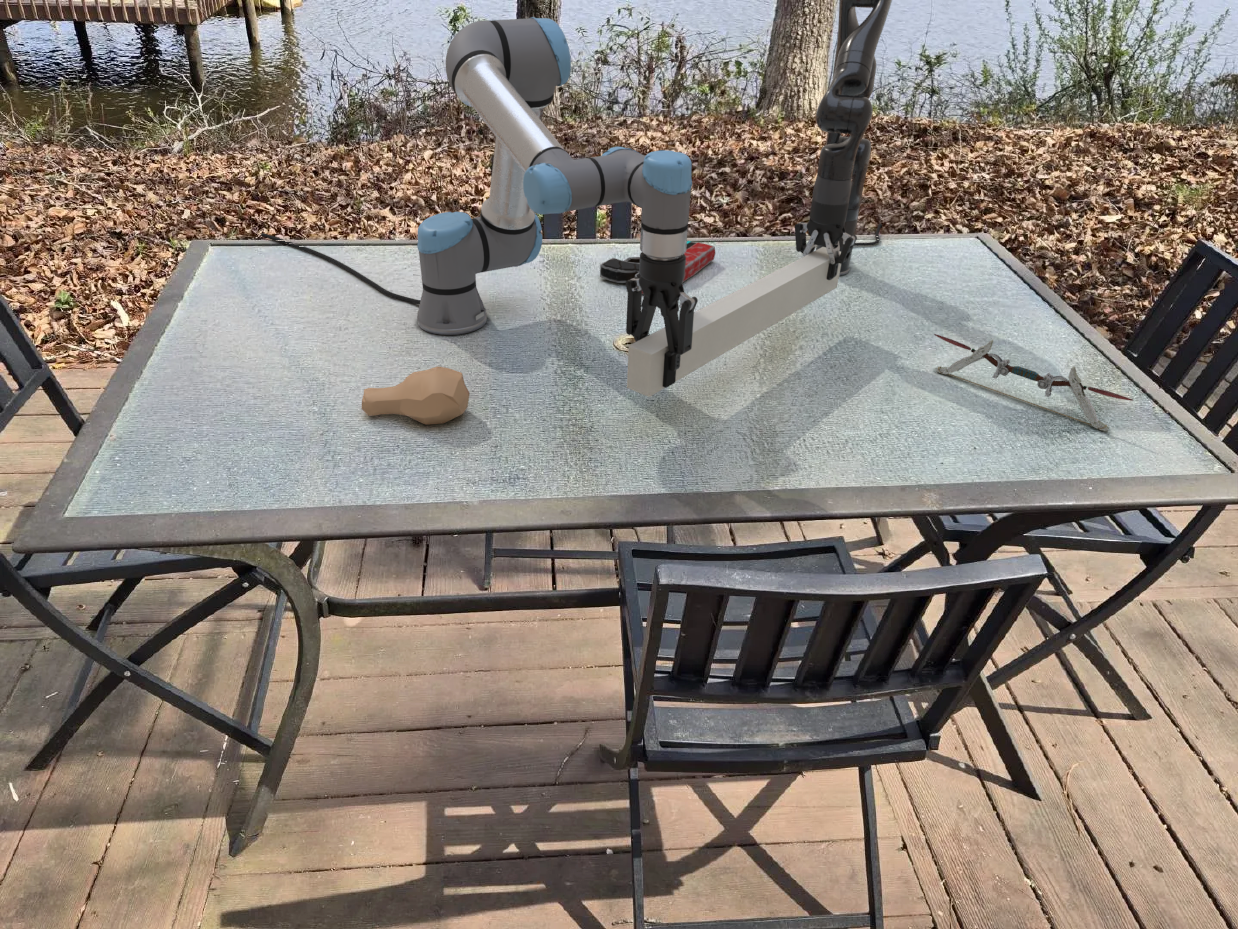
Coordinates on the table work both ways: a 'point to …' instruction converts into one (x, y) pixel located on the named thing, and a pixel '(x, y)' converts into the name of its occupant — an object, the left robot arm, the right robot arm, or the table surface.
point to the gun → (629, 268)
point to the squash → (421, 397)
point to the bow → (1043, 382)
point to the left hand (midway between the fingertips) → (656, 378)
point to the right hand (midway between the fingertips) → (818, 275)
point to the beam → (733, 320)
